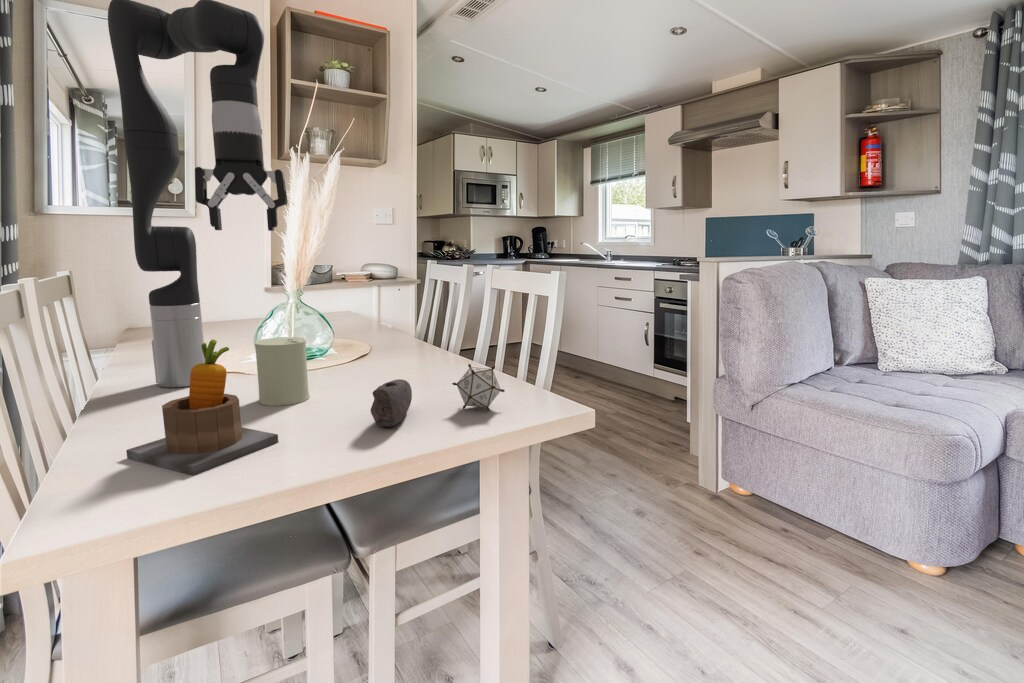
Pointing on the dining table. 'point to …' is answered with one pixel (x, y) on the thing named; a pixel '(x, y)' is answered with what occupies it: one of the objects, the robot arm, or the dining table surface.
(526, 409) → the dining table surface
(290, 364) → the can
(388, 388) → the perforated stone tool
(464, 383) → the game die
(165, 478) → the dining table surface
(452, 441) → the dining table surface
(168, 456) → the holder
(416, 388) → the dining table surface
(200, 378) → the carrot
